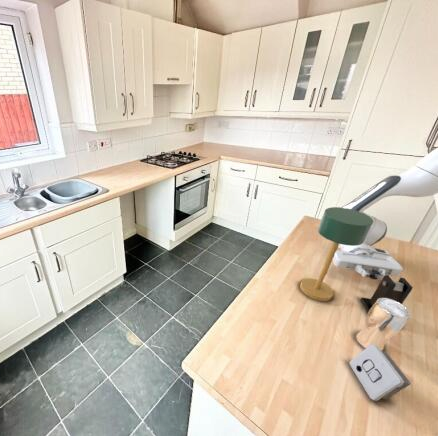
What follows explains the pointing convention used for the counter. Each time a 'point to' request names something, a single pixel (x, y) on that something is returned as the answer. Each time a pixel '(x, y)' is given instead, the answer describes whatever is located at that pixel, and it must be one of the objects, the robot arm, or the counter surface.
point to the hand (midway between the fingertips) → (375, 277)
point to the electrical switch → (378, 373)
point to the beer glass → (382, 322)
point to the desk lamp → (336, 244)
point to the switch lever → (376, 275)
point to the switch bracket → (388, 292)
